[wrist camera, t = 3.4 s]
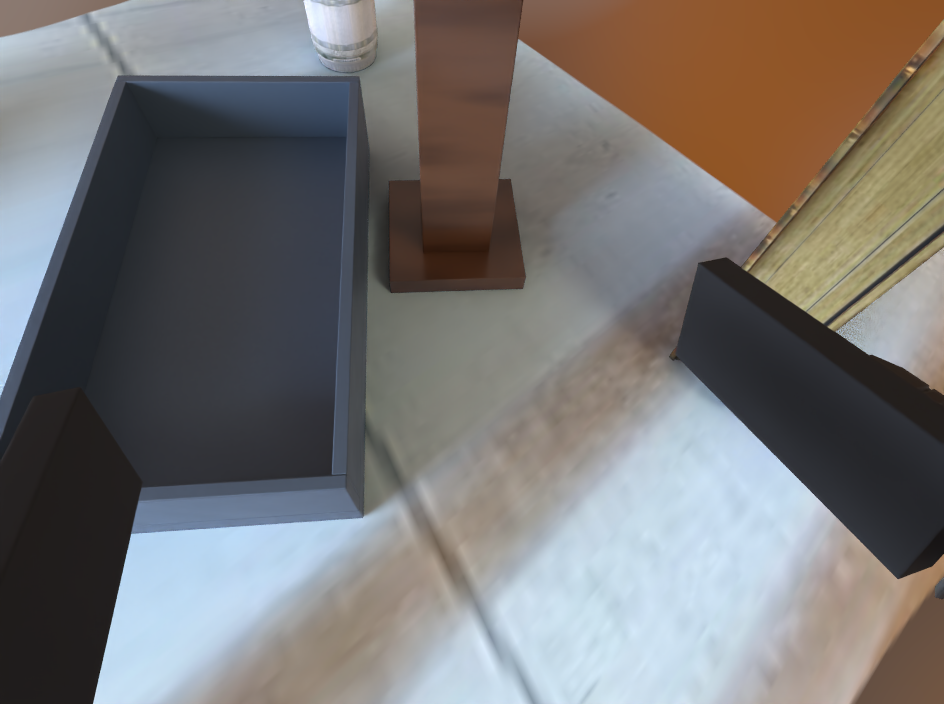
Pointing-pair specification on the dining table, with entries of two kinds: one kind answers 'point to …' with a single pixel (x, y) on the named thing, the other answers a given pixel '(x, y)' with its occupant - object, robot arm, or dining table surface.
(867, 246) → the book
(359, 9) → the camera lens
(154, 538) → the dining table surface
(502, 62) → the stand
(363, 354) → the bin
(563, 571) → the dining table surface
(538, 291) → the dining table surface
